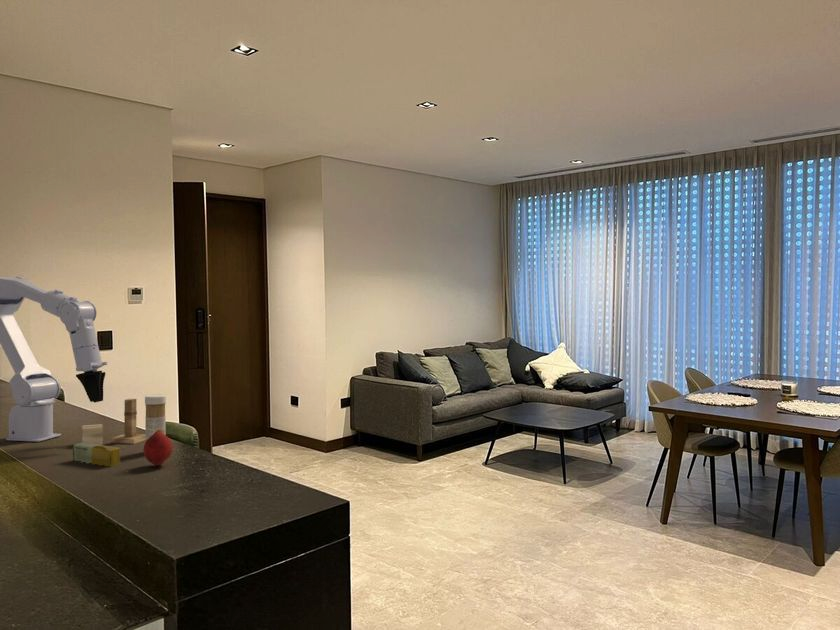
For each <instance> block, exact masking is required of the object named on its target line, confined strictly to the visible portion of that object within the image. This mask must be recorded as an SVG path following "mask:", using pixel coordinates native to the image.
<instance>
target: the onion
mask: <svg viewBox="0 0 840 630" xmlns="http://www.w3.org/2000/svg"><path fill="white" fill-rule="evenodd" d="M173 451H174V445H173V442H172V440H171V439H170V437H169V436H167V435H166V434H165V435H164V434H163V433H162V430H161V429H157V431H156V432H155V433H154V434H153V435H152V436H150V437H149V439H148V440H147V441H146V440H145V443H144V445H143V455H144V458H145V459H146V460H147V462H149V463H150V464H152V465H154V466H156V467H160V466H162V465H163V464H164V463H165V462H166V461H167V460H168V459H169V458H170V457H171V456H172V454H173Z"/></svg>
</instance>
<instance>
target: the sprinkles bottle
mask: <svg viewBox="0 0 840 630" xmlns="http://www.w3.org/2000/svg"><path fill="white" fill-rule="evenodd" d="M166 403H167V396H166V395H165V394H159V393H158V394H157V393H156V394H147V395H145V396H144V404H145V405H144V406H145V426H144V427H145V433H144V434H145V437H146V440H145V442H146V441H147V440H148V439H149V437H150V436H152V435H153V434H154V433H155V432H156V431H157V429H161V430H162V433H163V434H164V435H166V427H167V426H166V425H167V423H166Z"/></svg>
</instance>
